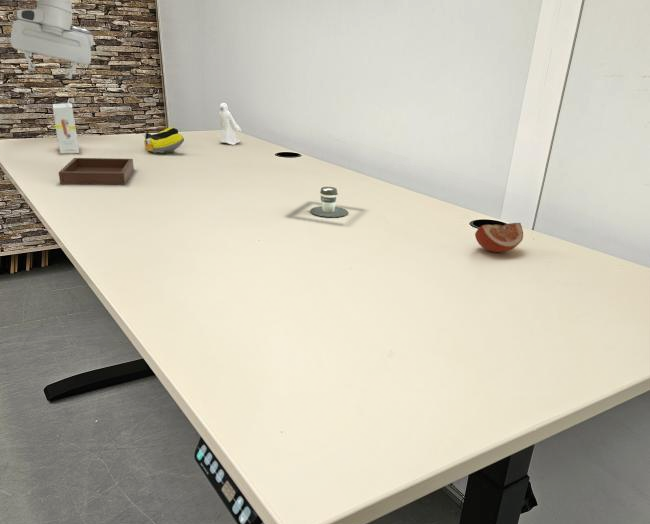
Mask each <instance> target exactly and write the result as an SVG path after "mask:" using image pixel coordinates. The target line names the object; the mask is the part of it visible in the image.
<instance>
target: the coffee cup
mask: <svg viewBox="0 0 650 524" xmlns="http://www.w3.org/2000/svg"><path fill="white" fill-rule="evenodd" d="M319 193H320V201H321V205H320V206H314V207H311V208H310V209H309V212H310V214H312V215H314V216H316V217H317V216H318V217H321V218H322V217H324V218H342V217H345V216H347V215H348V214H349V211H348V210H347V209H346V208H343V207H340V206H336V202H337V196H338V194H339V193H338V189H337V188H336V187H333V186H323V187H321V188H320V192H319Z"/></svg>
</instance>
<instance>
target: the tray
mask: <svg viewBox="0 0 650 524" xmlns="http://www.w3.org/2000/svg"><path fill="white" fill-rule="evenodd" d="M134 167H135V166H134V158H110V157H109V158H107V157H106V158H105V157H104V158H102V157H74V158H72V159H71V160H70V161H69V162H68V163H67V164H66V165H65V166H64V167H63V168H62V169H60V170H59V171H58V177H59V184H60V185H95V186H97V185H101V186H103V185H106V186H107V185H108V186H110V185H111V186H112V185H113V186H126V184H127V182H128V180H129V179H130V177H131V175H132V173H133V172H134V170H135V168H134Z"/></svg>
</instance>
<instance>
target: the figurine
mask: <svg viewBox="0 0 650 524" xmlns="http://www.w3.org/2000/svg"><path fill="white" fill-rule="evenodd" d="M219 109H220V111H218V117H219V118H218V120H219V125H220V127H221V136H220V139H219V142H220V143H222V144H223V143H224V144H225V143H226V144H229V145H232V146H234V145H237V144H238V143H241V140H240V139H239V138H238V137H237V136H236V133H235V131H236V132H240V133H242V132H243V130H242V127H240V125H239V124H238V123H237V122H236V120H235V119H234V117H233V115H232V113H231V112H230V111H229V106H228V104H227V103H226V102H221V103H220V104H219ZM234 130H235V131H234Z"/></svg>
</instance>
